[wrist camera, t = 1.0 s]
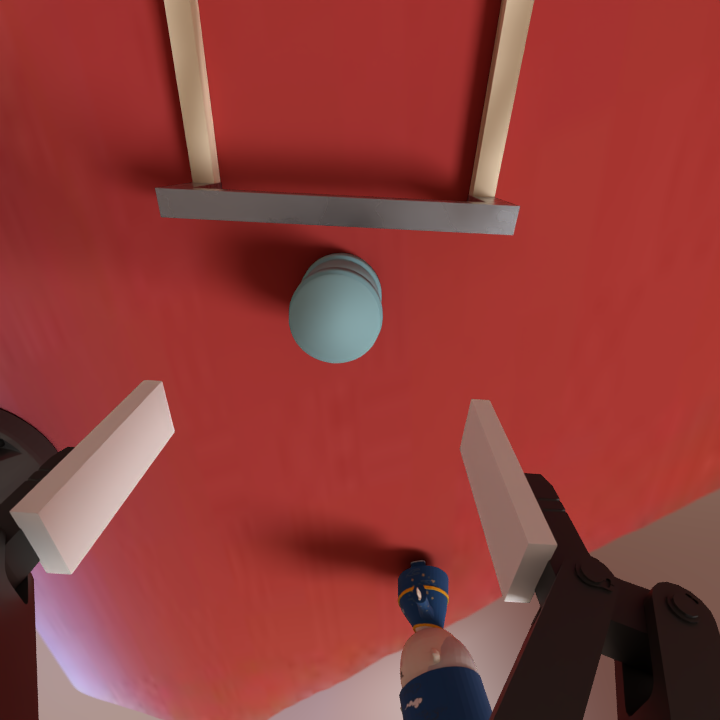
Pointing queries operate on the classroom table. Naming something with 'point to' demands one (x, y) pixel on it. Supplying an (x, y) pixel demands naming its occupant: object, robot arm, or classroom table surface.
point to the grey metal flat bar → (337, 209)
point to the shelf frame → (494, 118)
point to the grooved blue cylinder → (337, 309)
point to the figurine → (435, 654)
